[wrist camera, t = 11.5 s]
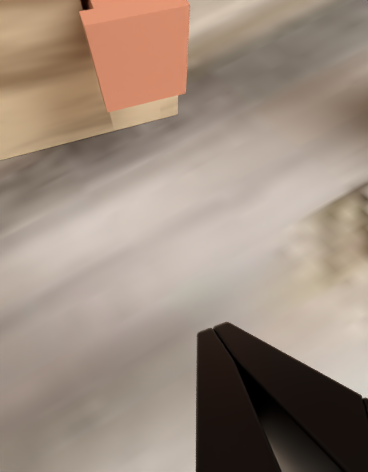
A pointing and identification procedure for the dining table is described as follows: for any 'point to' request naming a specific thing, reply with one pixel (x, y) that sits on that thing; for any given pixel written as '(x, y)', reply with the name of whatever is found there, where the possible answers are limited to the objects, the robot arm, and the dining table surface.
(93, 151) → the dining table surface
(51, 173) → the dining table surface
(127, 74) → the terracotta plug
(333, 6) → the dining table surface
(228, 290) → the dining table surface
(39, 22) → the socket block
